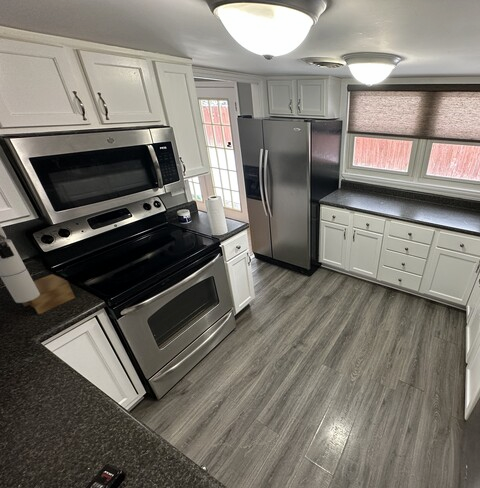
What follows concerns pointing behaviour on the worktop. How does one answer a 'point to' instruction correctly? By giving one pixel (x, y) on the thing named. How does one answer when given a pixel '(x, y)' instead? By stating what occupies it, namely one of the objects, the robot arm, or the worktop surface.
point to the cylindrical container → (17, 277)
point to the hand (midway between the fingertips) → (3, 254)
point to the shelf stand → (50, 293)
